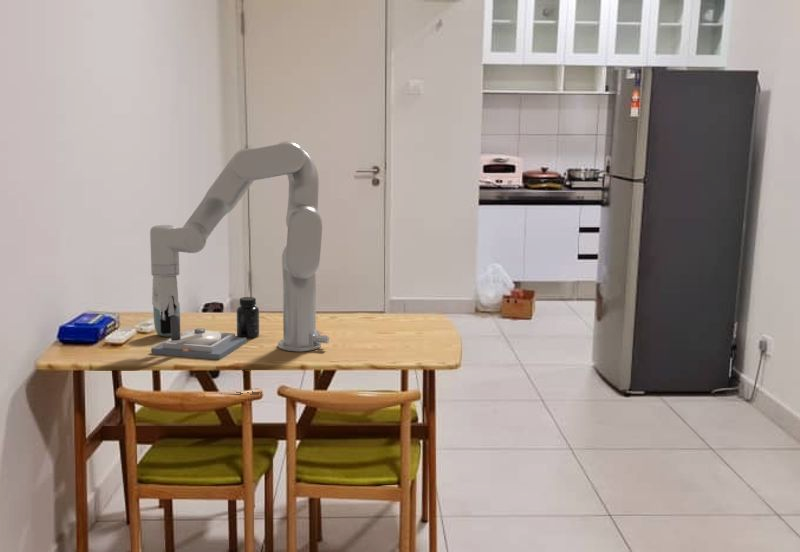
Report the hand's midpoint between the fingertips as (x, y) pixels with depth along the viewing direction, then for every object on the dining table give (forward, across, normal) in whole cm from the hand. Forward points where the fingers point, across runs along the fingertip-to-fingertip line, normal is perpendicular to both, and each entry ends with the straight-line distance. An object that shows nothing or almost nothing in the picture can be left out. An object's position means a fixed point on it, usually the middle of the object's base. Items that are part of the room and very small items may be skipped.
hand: (167, 332), depth 222 cm
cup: (+6, -18, +5) cm, 19 cm away
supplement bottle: (+6, -5, +26) cm, 27 cm away
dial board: (+6, +1, +9) cm, 11 cm away
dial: (+4, +2, +7) cm, 8 cm away
